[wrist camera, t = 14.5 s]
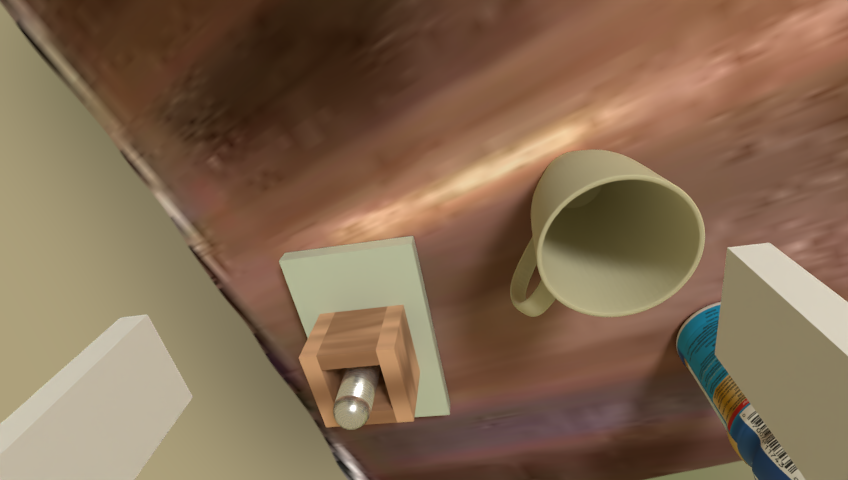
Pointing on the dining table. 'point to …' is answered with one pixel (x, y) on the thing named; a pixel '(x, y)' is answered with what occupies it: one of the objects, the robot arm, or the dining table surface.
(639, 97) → the dining table surface
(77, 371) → the robot arm
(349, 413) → the post
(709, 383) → the beverage bottle
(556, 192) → the mug
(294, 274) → the post plate
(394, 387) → the collar
